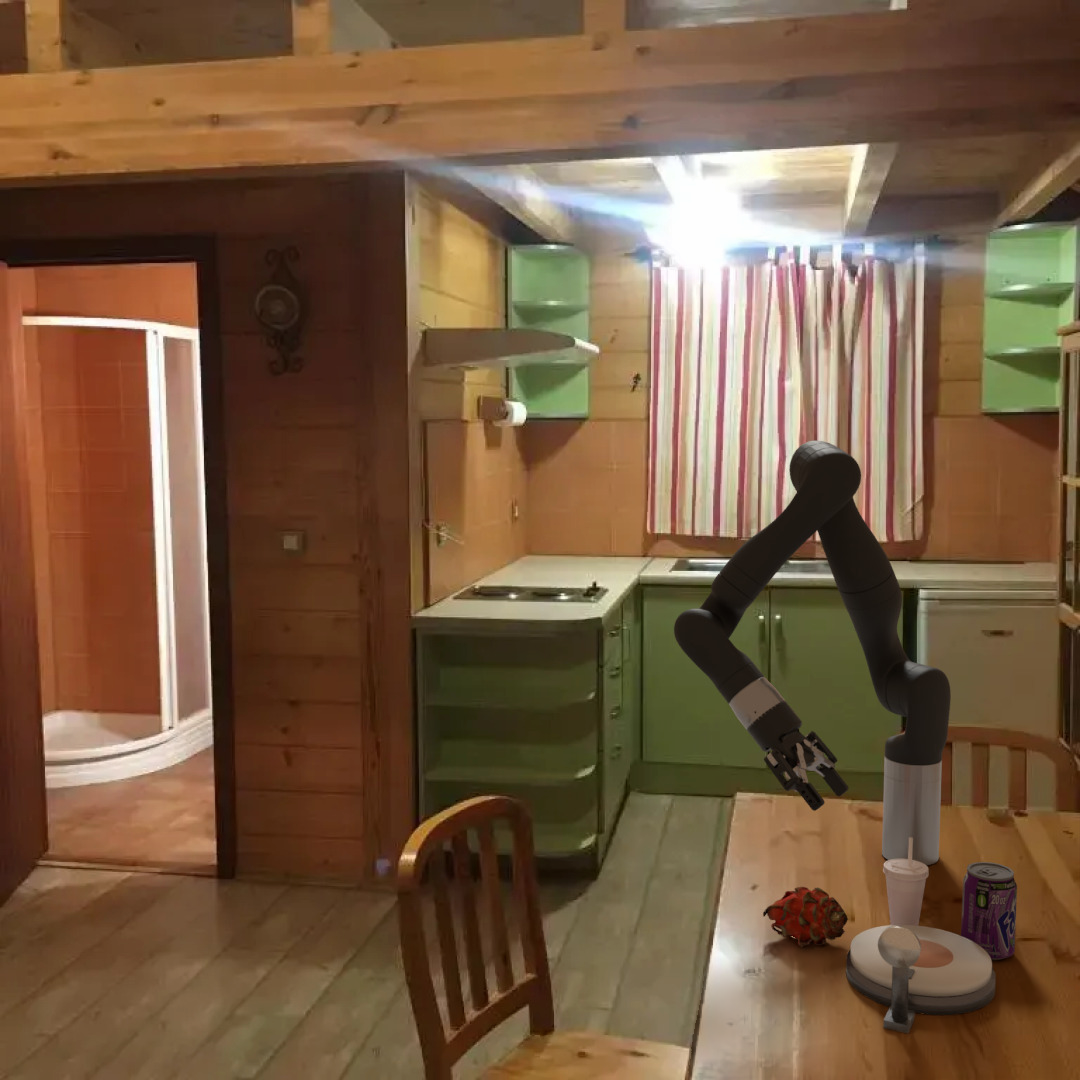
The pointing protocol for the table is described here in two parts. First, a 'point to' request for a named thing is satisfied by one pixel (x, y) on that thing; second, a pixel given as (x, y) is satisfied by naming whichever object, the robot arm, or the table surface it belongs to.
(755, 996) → the table surface
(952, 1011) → the base
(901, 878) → the smoothie
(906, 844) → the robot arm
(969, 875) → the beverage can
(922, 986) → the turntable
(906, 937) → the stand
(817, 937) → the dragon fruit
